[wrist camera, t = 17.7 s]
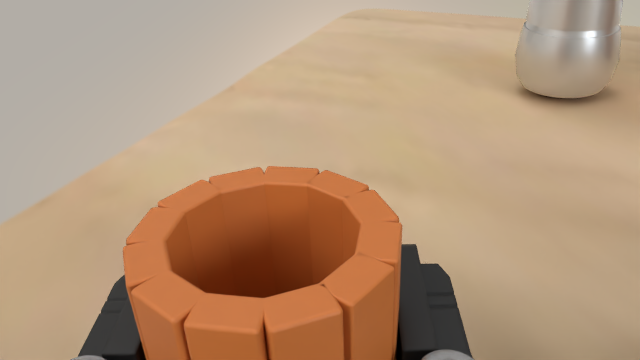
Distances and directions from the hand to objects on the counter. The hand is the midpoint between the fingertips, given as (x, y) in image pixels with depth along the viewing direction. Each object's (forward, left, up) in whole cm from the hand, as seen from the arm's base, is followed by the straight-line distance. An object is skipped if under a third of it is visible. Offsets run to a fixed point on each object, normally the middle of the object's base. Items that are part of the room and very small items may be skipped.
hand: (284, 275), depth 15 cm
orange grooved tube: (+2, +2, -6) cm, 6 cm away
